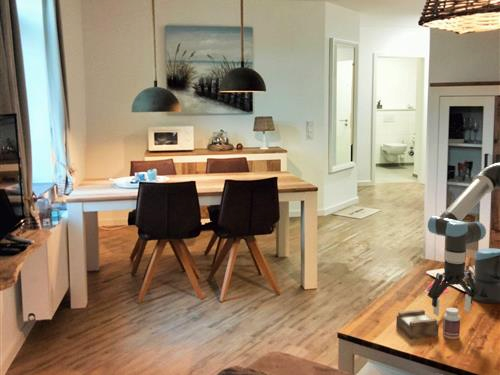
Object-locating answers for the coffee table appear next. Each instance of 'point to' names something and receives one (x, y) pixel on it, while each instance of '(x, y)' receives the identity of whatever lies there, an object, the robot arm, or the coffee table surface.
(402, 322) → the brown square open box
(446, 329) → the pill bottle
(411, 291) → the coffee table surface
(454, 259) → the robot arm
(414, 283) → the coffee table surface
